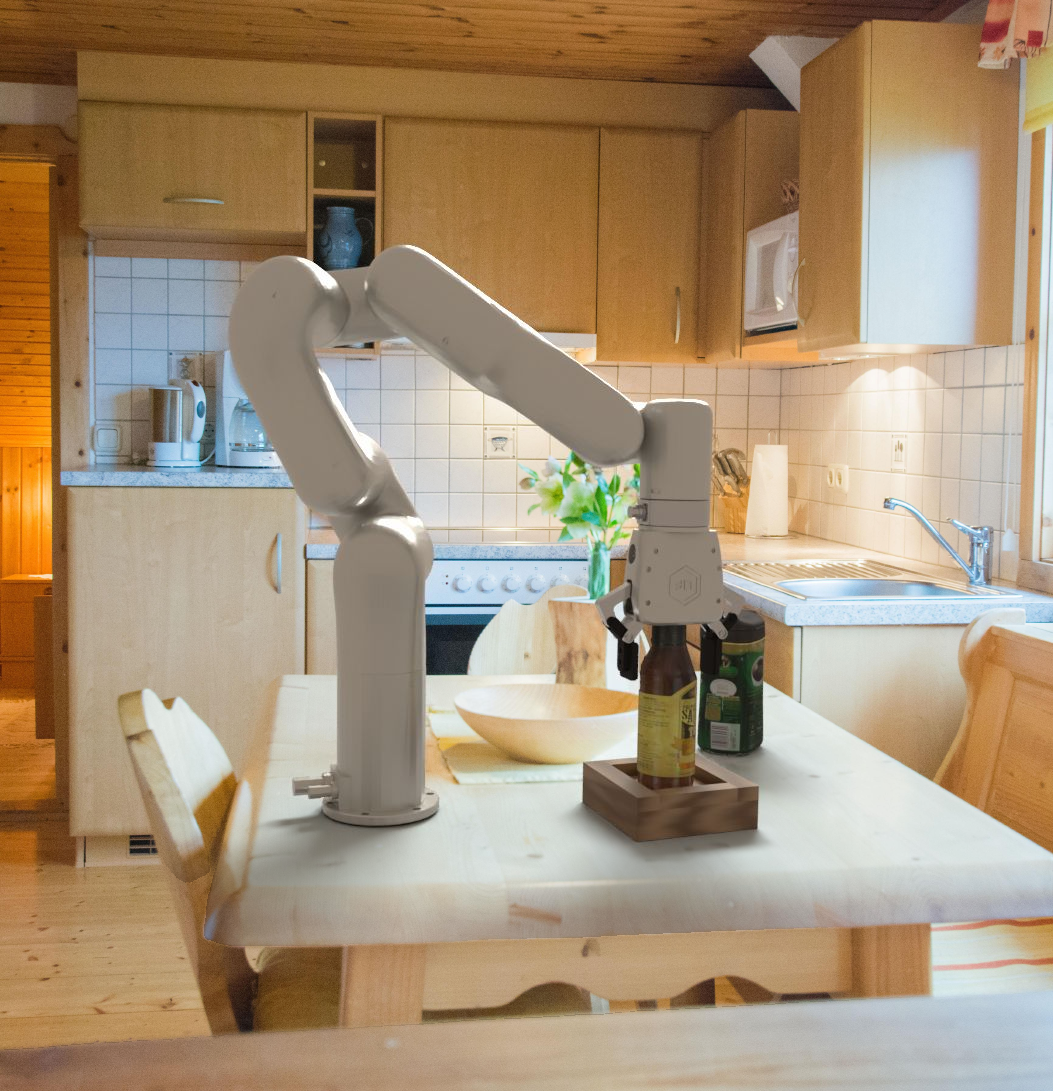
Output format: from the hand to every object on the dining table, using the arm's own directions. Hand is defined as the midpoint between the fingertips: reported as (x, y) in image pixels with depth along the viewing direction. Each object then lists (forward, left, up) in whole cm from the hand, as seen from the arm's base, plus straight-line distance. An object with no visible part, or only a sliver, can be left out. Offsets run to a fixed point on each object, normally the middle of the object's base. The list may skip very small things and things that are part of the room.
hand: (669, 675), depth 122 cm
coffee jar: (+21, +23, -15) cm, 35 cm away
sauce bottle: (0, 0, -12) cm, 12 cm away
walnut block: (0, 0, -15) cm, 15 cm away
